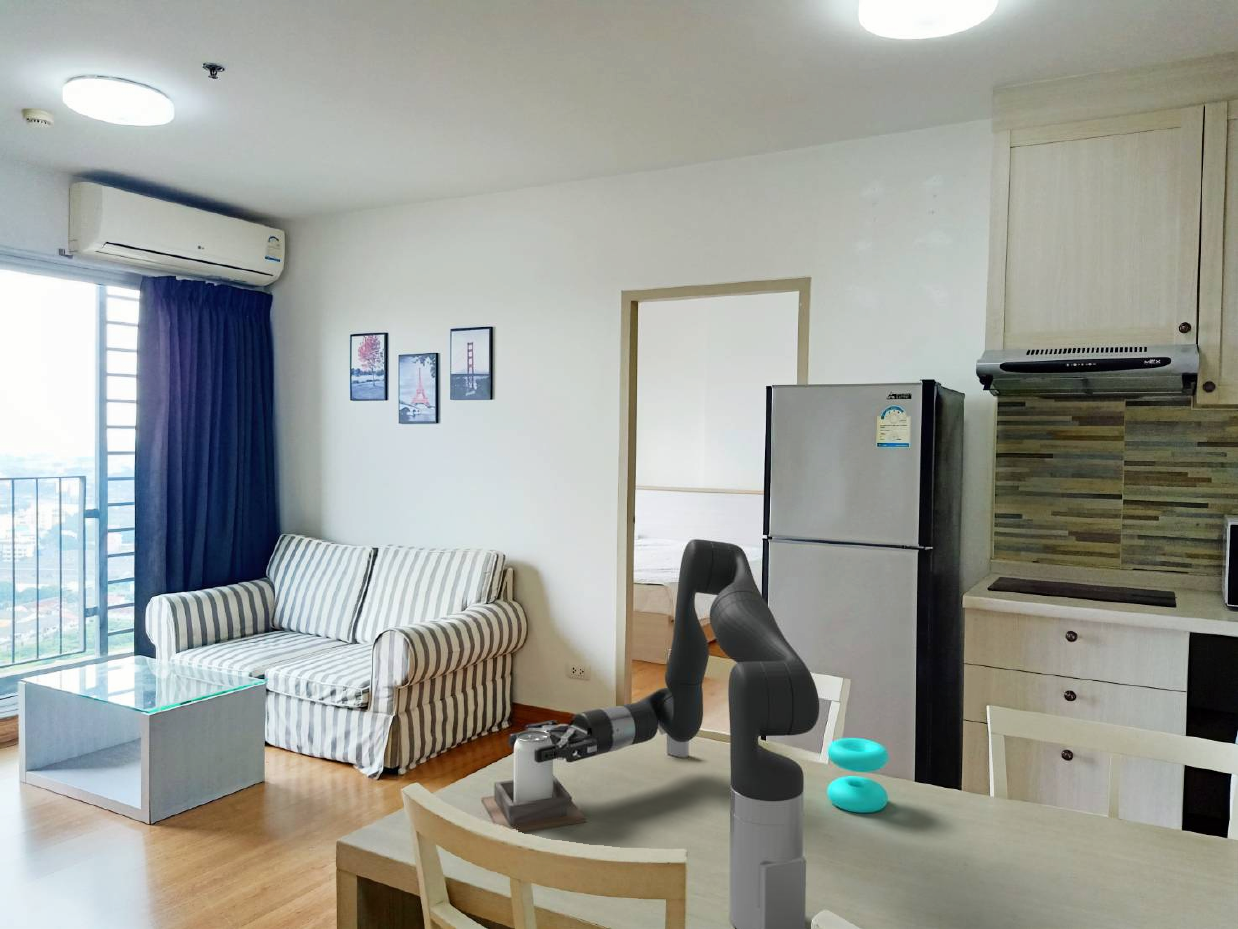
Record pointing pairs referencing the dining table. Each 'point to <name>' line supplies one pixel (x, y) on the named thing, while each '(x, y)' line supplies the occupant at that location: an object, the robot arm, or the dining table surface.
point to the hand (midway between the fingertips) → (522, 748)
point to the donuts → (853, 789)
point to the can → (532, 768)
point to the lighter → (675, 746)
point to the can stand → (531, 808)
